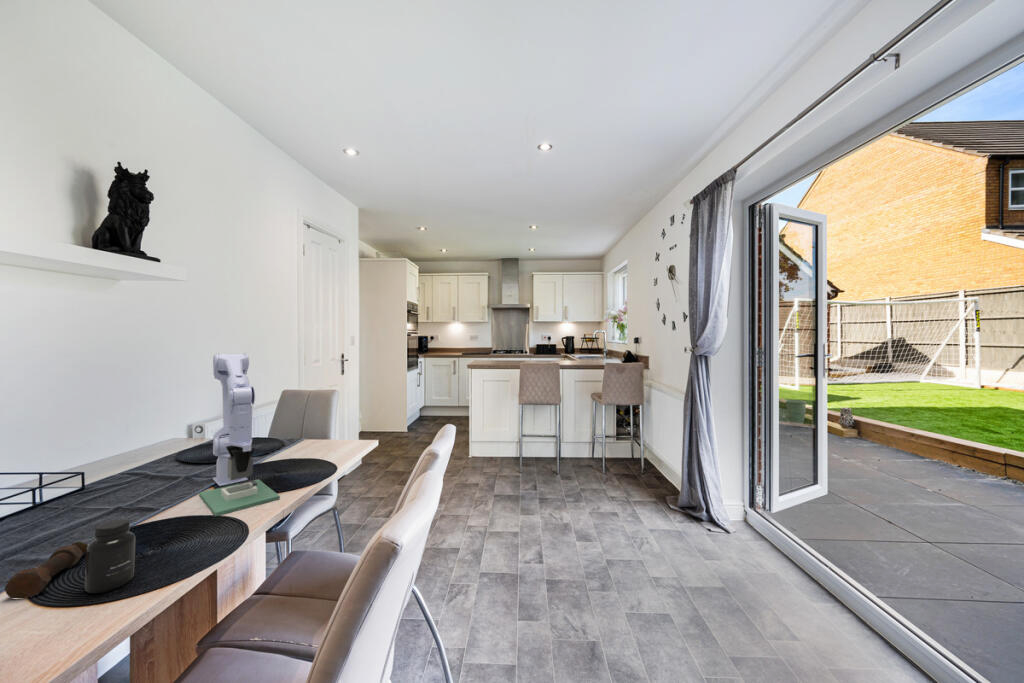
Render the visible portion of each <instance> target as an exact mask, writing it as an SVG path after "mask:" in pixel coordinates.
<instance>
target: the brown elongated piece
mask: <svg viewBox="0 0 1024 683" xmlns="http://www.w3.org/2000/svg"><path fill="white" fill-rule="evenodd" d="M88 545H89V544H88V543H84V542H81V541H80V542H79V541H76V542H73V543H72V544H70V545H65V546H60V547H58V548H56V549H55V550H54V551H53V552H52V554H51V555H50V557H49V558H48V559H47V560H46V561H44V562H43V563H42V564H40V565H39V566H37V567H31V568H24V569H23V568H22V569H20V570H18V571H17V572H15V573H14V574H13V575H12V576H11V577H10V579H9V580H8V581H7V583H6V585H5V587H4V591H5V594H6V595H7V596H8V597H9V598H10V599H12V598H24V599H27V598H26V597H28V596H32V595H36V594H38V595H40V594H41V593H42V592H43V591H44V590H45V588H46V587H47V585H48V584H49V583H50V581H51V580H52V578H53V577H54V576H55V575H57V574H58V573H60V572H61V571H63V570H65V569H64V568H68V569H70V568H69V567H71V568H73V567H74V566H76V565H77V564H78V562H79V561H80V559H81V558H82V557H83V555H85V554H86V551H87V547H88ZM73 565H74V566H73ZM72 566H73V567H72ZM41 591H42V592H41ZM40 592H41V593H40ZM39 593H40V594H39Z"/></svg>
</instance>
